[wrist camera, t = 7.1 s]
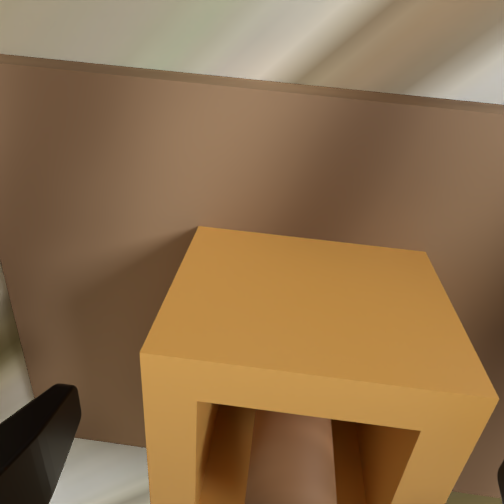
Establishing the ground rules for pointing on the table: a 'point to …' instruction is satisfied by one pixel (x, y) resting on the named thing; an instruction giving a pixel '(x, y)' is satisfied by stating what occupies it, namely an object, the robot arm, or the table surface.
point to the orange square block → (310, 368)
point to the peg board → (231, 225)
